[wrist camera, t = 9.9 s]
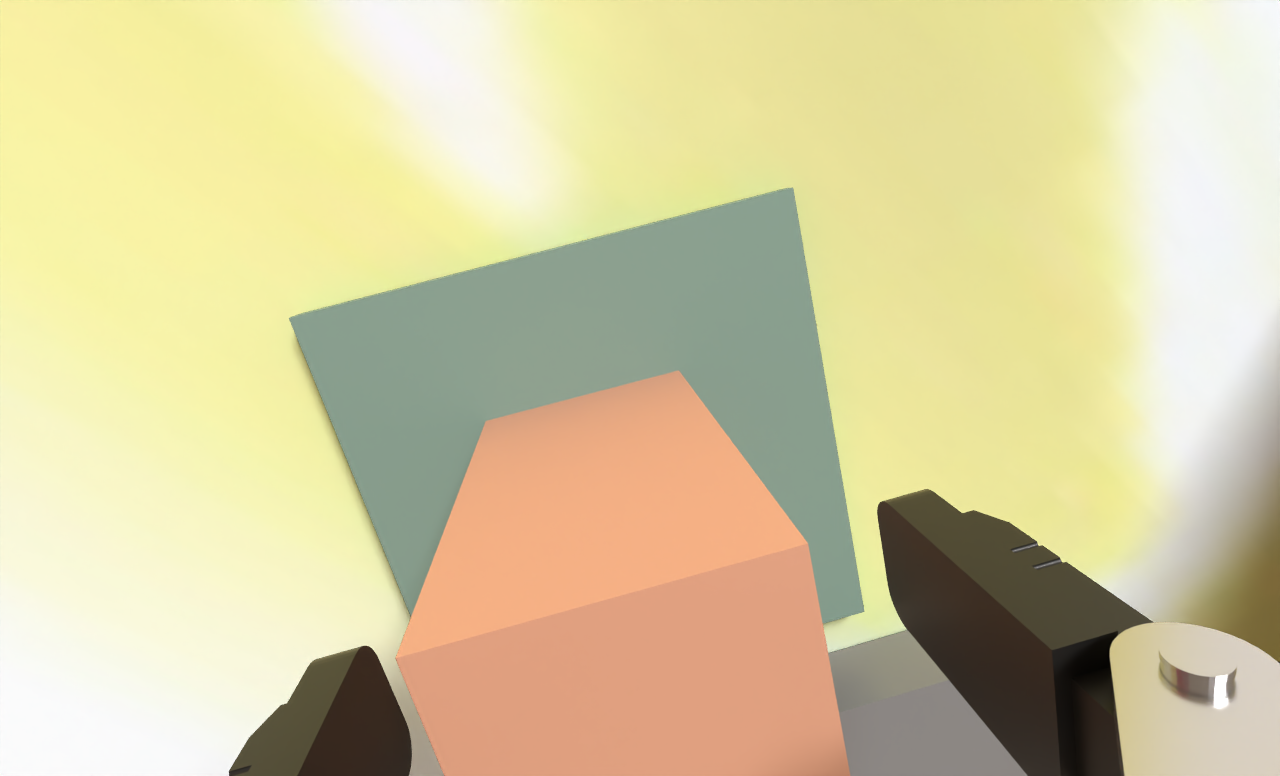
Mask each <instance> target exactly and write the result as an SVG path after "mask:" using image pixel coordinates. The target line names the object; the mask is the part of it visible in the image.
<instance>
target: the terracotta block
mask: <svg viewBox="0 0 1280 776" xmlns="http://www.w3.org/2000/svg"><path fill="white" fill-rule="evenodd" d="M395 659H396V661H397V663H398V666H399V668H400V671H401V673H402V675H403V678H404V680H405V683H406V685H407V687H408V690H409V692H410V695H411V697H412V699H413V702H414V704H415V707H416V709H417V711H418V714H419V716H420V719H421V721H422V723H423V726H424V728H425V731H426V733H427V735H428V738H429V740H430V743H431V745H432V747H433V750H434V752H435V755H436V757H437V760H438V762H439V764H440V767H441V769H442V772H443V774H444V776H850V771H849V765H848V760H847V754H846V749H845V743H844V738H843V732H842V727H841V721H840V716H839V710H838V705H837V699H836V694H835V689H834V683H833V678H832V672H831V667H830V661H829V656H828V650H827V645H826V639H825V634H824V628H823V623H822V617H821V612H820V606H819V601H818V595H817V590H816V584H815V579H814V573H813V568H812V562H811V557H810V551H809V546H808V543H807V541H806V540H805V539H804V537H803V536H802V535H801V533H800V532H799V531H798V529H797V528H796V527H795V525H794V524H793V523H792V521H791V520H790V519H789V517H788V516H787V515H786V513H785V512H784V511H783V509H782V508H781V507H780V505H779V504H778V503H777V501H776V500H775V499H774V497H773V496H772V495H771V493H770V492H769V491H768V489H767V488H766V486H765V485H764V484H763V482H762V481H761V480H760V478H759V477H758V476H757V474H756V473H755V472H754V470H753V469H752V468H751V466H750V465H749V464H748V462H747V461H746V460H745V458H744V457H743V456H742V454H741V453H740V452H739V450H738V449H737V448H736V446H735V445H734V444H733V442H732V441H731V440H730V438H729V437H728V436H727V434H726V433H725V432H724V430H723V429H722V428H721V426H720V425H719V424H718V422H717V421H716V419H715V418H714V417H713V415H712V414H711V413H710V411H709V410H708V409H707V407H706V406H705V405H704V403H703V402H702V401H701V399H700V398H699V397H698V395H697V394H696V393H695V391H694V390H693V389H692V387H691V386H690V385H689V383H688V382H687V381H686V379H685V378H684V377H683V375H682V374H681V373H680V371H679V370H678V371H674V372H671V373H667V374H663V375H659V376H655V377H652V378H648V379H644V380H640V381H636V382H632V383H629V384H625V385H621V386H617V387H613V388H610V389H606V390H602V391H598V392H594V393H591V394H587V395H583V396H579V397H575V398H571V399H568V400H564V401H560V402H556V403H552V404H549V405H545V406H541V407H537V408H533V409H530V410H526V411H522V412H518V413H514V414H510V415H507V416H503V417H499V418H495V419H491V420H488V421H486V422H485V424H484V427H483V430H482V432H481V435H480V437H479V440H478V443H477V445H476V448H475V451H474V453H473V456H472V458H471V461H470V464H469V466H468V469H467V472H466V474H465V477H464V479H463V482H462V485H461V487H460V490H459V493H458V495H457V498H456V500H455V503H454V506H453V508H452V511H451V514H450V516H449V519H448V522H447V524H446V527H445V529H444V532H443V535H442V537H441V540H440V543H439V545H438V548H437V550H436V553H435V556H434V558H433V561H432V564H431V566H430V569H429V571H428V574H427V577H426V579H425V582H424V585H423V587H422V590H421V592H420V595H419V598H418V600H417V603H416V606H415V608H414V611H413V613H412V616H411V619H410V621H409V624H408V627H407V629H406V632H405V634H404V637H403V640H402V642H401V645H400V648H399V650H398V653H397V655H396V658H395Z"/></svg>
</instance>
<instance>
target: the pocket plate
mask: <svg viewBox="0 0 1280 776" xmlns="http://www.w3.org/2000/svg"><path fill="white" fill-rule="evenodd" d="M828 656H829V661H830V667H831V672H832V678H833V683H834V689H835V694H836V699H837V705H838V710H839V716H840V721H841V727H842V732H843V738H844V743H845V749H846V754H847V760H848V765H849V771H850V776H1027V774H1026V773H1025V772H1024V771H1023V769H1022V768H1021V767H1020V766H1019V765H1018V763H1017V762H1016V761H1015V760H1014V759H1013V757H1012V756H1011V755H1010V754H1009V752H1008V751H1007V750H1006V749H1005V748H1004V746H1003V745H1002V744H1001V743H1000V742H999V740H998V739H997V738H996V737H995V735H994V734H993V733H992V732H991V731H990V729H989V728H988V727H987V726H986V725H985V723H984V722H983V721H982V720H981V718H980V717H979V716H978V715H977V714H976V712H975V711H974V710H973V709H972V708H971V706H970V705H969V704H968V703H967V701H966V700H965V699H964V698H963V697H962V695H961V694H960V693H959V692H958V691H957V689H956V688H955V687H954V686H953V684H952V683H951V682H950V681H949V680H948V678H947V677H946V676H945V675H944V673H943V672H942V671H941V670H940V669H939V667H938V666H937V665H936V664H935V663H934V661H933V660H932V659H931V658H930V656H929V655H928V654H927V653H926V652H925V650H924V649H923V648H922V647H921V646H920V644H919V643H918V642H917V641H916V639H915V638H914V637H913V636H912V635H911V633H910V632H909V631H908V630H906V631H903V632H899V633H896V634H893V635H889V636H886V637H882V638H879V639H876V640H872V641H869V642H865V643H862V644H859V645H855V646H852V647H848V648H845V649H842V650H838V651H835V652H831V653H828Z"/></svg>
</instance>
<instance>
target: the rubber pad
mask: <svg viewBox="0 0 1280 776" xmlns="http://www.w3.org/2000/svg"><path fill="white" fill-rule="evenodd" d="M289 320H290V322H291V325H292V327H293V329H294V332H295V334H296V337H297V339H298V342H299V344H300V347H301V349H302V351H303V354H304V356H305V359H306V361H307V364H308V366H309V369H310V371H311V373H312V376H313V378H314V381H315V383H316V386H317V388H318V391H319V393H320V395H321V398H322V400H323V403H324V405H325V408H326V410H327V413H328V415H329V418H330V420H331V422H332V425H333V427H334V430H335V432H336V435H337V437H338V440H339V442H340V444H341V447H342V449H343V452H344V454H345V457H346V459H347V462H348V464H349V466H350V469H351V471H352V474H353V476H354V479H355V481H356V484H357V486H358V488H359V491H360V493H361V496H362V498H363V501H364V503H365V506H366V508H367V511H368V513H369V515H370V518H371V520H372V523H373V525H374V528H375V530H376V533H377V535H378V537H379V540H380V542H381V545H382V547H383V550H384V552H385V555H386V557H387V559H388V562H389V564H390V567H391V569H392V572H393V574H394V577H395V579H396V581H397V584H398V586H399V589H400V591H401V594H402V596H403V599H404V601H405V603H406V606H407V608H408V611H409V613H410V616H412V613H413V611H414V608H415V606H416V603H417V600H418V598H419V595H420V592H421V590H422V587H423V585H424V582H425V579H426V577H427V574H428V571H429V569H430V566H431V564H432V561H433V558H434V556H435V553H436V550H437V548H438V545H439V543H440V540H441V537H442V535H443V532H444V529H445V527H446V524H447V522H448V519H449V516H450V514H451V511H452V508H453V506H454V503H455V500H456V498H457V495H458V493H459V490H460V487H461V485H462V482H463V479H464V477H465V474H466V472H467V469H468V466H469V464H470V461H471V458H472V456H473V453H474V451H475V448H476V445H477V443H478V440H479V437H480V435H481V432H482V430H483V427H484V424H485V422H486V421H488V420H491V419H495V418H499V417H503V416H507V415H510V414H514V413H518V412H522V411H526V410H530V409H533V408H537V407H541V406H545V405H549V404H552V403H556V402H560V401H564V400H568V399H571V398H575V397H579V396H583V395H587V394H591V393H594V392H598V391H602V390H606V389H610V388H613V387H617V386H621V385H625V384H629V383H632V382H636V381H640V380H644V379H648V378H652V377H655V376H659V375H663V374H667V373H671V372H674V371H678V370H679V371H680V373H681V374H682V375H683V377H684V378H685V379H686V381H687V382H688V383H689V385H690V386H691V387H692V389H693V390H694V391H695V393H696V394H697V395H698V397H699V398H700V399H701V401H702V402H703V403H704V405H705V406H706V407H707V409H708V410H709V411H710V413H711V414H712V415H713V417H714V418H715V419H716V421H717V422H718V424H719V425H720V426H721V428H722V429H723V430H724V432H725V433H726V434H727V436H728V437H729V438H730V440H731V441H732V442H733V444H734V445H735V446H736V448H737V449H738V450H739V452H740V453H741V454H742V456H743V457H744V458H745V460H746V461H747V462H748V464H749V465H750V466H751V468H752V469H753V470H754V472H755V473H756V474H757V476H758V477H759V478H760V480H761V481H762V482H763V484H764V485H765V486H766V488H767V489H768V491H769V492H770V493H771V495H772V496H773V497H774V499H775V500H776V501H777V503H778V504H779V505H780V507H781V508H782V509H783V511H784V512H785V513H786V515H787V516H788V517H789V519H790V520H791V521H792V523H793V524H794V525H795V527H796V528H797V529H798V531H799V532H800V533H801V535H802V536H803V537H804V539H805V540H806V541H807V543H808V546H809V551H810V557H811V562H812V568H813V573H814V579H815V584H816V590H817V595H818V601H819V606H820V612H821V617H822V623H823V624H824V623H827V622H831V621H834V620H837V619H841V618H844V617H848V616H851V615H855V614H858V613H861V612H864V606H863V601H862V595H861V589H860V583H859V577H858V571H857V565H856V559H855V553H854V547H853V541H852V535H851V529H850V523H849V517H848V511H847V505H846V499H845V493H844V488H843V482H842V476H841V470H840V464H839V458H838V452H837V446H836V440H835V434H834V428H833V422H832V416H831V410H830V404H829V398H828V392H827V386H826V380H825V374H824V369H823V363H822V357H821V351H820V345H819V339H818V333H817V327H816V321H815V315H814V309H813V303H812V297H811V291H810V285H809V279H808V273H807V267H806V261H805V255H804V250H803V244H802V238H801V232H800V226H799V220H798V214H797V208H796V202H795V196H794V190H793V188H786V189H781V190H777V191H773V192H769V193H766V194H762V195H758V196H754V197H750V198H746V199H742V200H739V201H735V202H731V203H727V204H723V205H719V206H715V207H711V208H708V209H704V210H700V211H696V212H692V213H688V214H684V215H680V216H677V217H673V218H669V219H665V220H661V221H657V222H653V223H650V224H646V225H642V226H638V227H634V228H630V229H626V230H622V231H619V232H615V233H611V234H607V235H603V236H599V237H595V238H592V239H588V240H584V241H580V242H576V243H572V244H568V245H564V246H561V247H557V248H553V249H549V250H545V251H541V252H537V253H533V254H530V255H526V256H522V257H518V258H514V259H510V260H506V261H503V262H499V263H495V264H491V265H487V266H483V267H479V268H475V269H472V270H468V271H464V272H460V273H456V274H452V275H448V276H444V277H441V278H437V279H433V280H429V281H425V282H421V283H417V284H414V285H410V286H406V287H402V288H398V289H394V290H390V291H386V292H383V293H379V294H375V295H371V296H367V297H363V298H359V299H355V300H352V301H348V302H344V303H340V304H336V305H332V306H328V307H325V308H321V309H317V310H313V311H309V312H305V313H301V314H298V315H296V316H293V317H290V318H289Z"/></svg>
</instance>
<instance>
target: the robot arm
mask: <svg viewBox="0 0 1280 776" xmlns="http://www.w3.org/2000/svg"><path fill="white" fill-rule="evenodd" d="M877 515H878V522H879V529H880V536H881V542H882V549H883V555H884V562H885V568H886V575H887V581H888V587H889V592H890V595H891V599H892V601H893V604H894V607H895V609H896V611H897V613H898V615H899V617H900V619H901V621H902V623H903V624H904V626H905V627H906V628H907V630H908V631H909V632H910V633H911V635H912V636H913V637H914V638H915V639H916V641H917V642H918V643H919V644H920V646H921V647H922V648H923V649H924V650H925V652H926V653H927V654H928V655H929V656H930V658H931V659H932V660H933V661H934V663H935V664H936V665H937V666H938V667H939V669H940V670H941V671H942V672H943V673H944V675H945V676H946V677H947V678H948V680H949V681H950V682H951V683H952V684H953V686H954V687H955V688H956V689H957V691H958V692H959V693H960V694H961V695H962V697H963V698H964V699H965V700H966V701H967V703H968V704H969V705H970V706H971V708H972V709H973V710H974V711H975V712H976V714H977V715H978V716H979V717H980V718H981V720H982V721H983V722H984V723H985V725H986V726H987V727H988V728H989V729H990V731H991V732H992V733H993V734H994V735H995V737H996V738H997V739H998V740H999V742H1000V743H1001V744H1002V745H1003V746H1004V748H1005V749H1006V750H1007V751H1008V752H1009V754H1010V755H1011V756H1012V757H1013V759H1014V760H1015V761H1016V762H1017V763H1018V765H1019V766H1020V767H1021V768H1022V769H1023V771H1024V772H1025V773H1026V774H1027V776H1280V662H1277V661H1276V660H1275V659H1273V658H1272V657H1271V656H1270V655H1268V654H1267V653H1265V652H1264V651H1262V650H1261V649H1259V648H1258V647H1256V646H1254V645H1252V644H1250V643H1248V642H1246V641H1244V640H1242V639H1240V638H1237V637H1235V636H1233V635H1230V634H1227V633H1224V632H1221V631H1218V630H1215V629H1211V628H1207V627H1203V626H1199V625H1193V624H1186V623H1176V622H1155V623H1154V622H1152V621H1151V620H1149V619H1148V618H1146V617H1145V616H1143V615H1142V614H1141V613H1139V612H1138V611H1136V610H1135V609H1133V608H1132V607H1130V606H1129V605H1128V604H1126V603H1125V602H1123V601H1122V600H1120V599H1119V598H1117V597H1116V596H1115V595H1113V594H1112V593H1110V592H1109V591H1107V590H1106V589H1104V588H1103V587H1102V586H1100V585H1099V584H1097V583H1096V582H1094V581H1093V580H1092V579H1090V578H1089V577H1087V576H1086V575H1084V574H1083V573H1081V572H1080V571H1079V570H1077V569H1076V568H1074V567H1073V566H1071V565H1070V564H1068V563H1067V562H1064V563H1062V561H1061V559H1060V557H1058V556H1057V555H1055V554H1054V553H1053V552H1051V551H1050V550H1048V549H1047V548H1045V547H1044V546H1038V544H1037V541H1035V540H1034V539H1032V538H1031V537H1030V536H1028V535H1027V534H1025V533H1024V532H1022V531H1021V530H1019V529H1018V528H1017V527H1015V526H1014V525H1012V524H1011V523H1009V522H1006V521H1003V520H1000V519H997V518H994V517H992V516H989V515H986V514H983V513H980V512H977V511H974V510H973V511H970V512H966V513H961V512H960V511H958V510H957V509H956V508H954V507H953V506H952V505H950V504H949V503H948V502H946V501H945V500H944V499H942V498H941V497H940V496H938V495H937V494H936V493H934V492H933V491H931V490H929V489H925V490H921V491H918V492H914V493H910V494H907V495H903V496H900V497H896V498H893V499H889V500H886V501H882V502H880V503H879V505H878V510H877ZM411 758H412V748H411V739H410V733H409V729H408V726H407V723H406V721H405V718H404V716H403V714H402V712H401V709H400V707H399V705H398V702H397V700H396V698H395V696H394V693H393V691H392V689H391V686H390V684H389V682H388V679H387V677H386V675H385V673H384V670H383V668H382V666H381V663H380V661H379V659H378V657H377V655H376V653H375V652H374V650H373V649H372V648H370V647H369V646H362V647H358V648H354V649H351V650H347V651H344V652H340V653H337V654H333V655H330V656H326V657H322V658H319V659H316V660H314V661H313V662H311V663H310V665H309V666H308V668H307V670H306V671H305V673H304V675H303V677H302V678H301V680H300V682H299V684H298V685H297V687H296V689H295V691H294V692H293V694H292V696H291V698H290V699H289V701H288V703H287V704H284V705H280V707H279V708H278V709H277V710H276V711H275V712H274V713H273V714H272V715H271V716H270V717H269V718H268V719H267V720H266V721H265V722H264V723H263V724H262V725H261V726H260V727H259V728H258V729H257V730H256V731H255V732H254V733H253V734H252V735H251V736H250V737H249V739H248V741H247V742H246V744H245V745H244V747H243V749H242V750H241V752H240V754H239V755H238V757H237V759H236V760H235V762H234V764H233V765H232V767H231V769H230V770H229V776H409V772H410V768H411Z"/></svg>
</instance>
